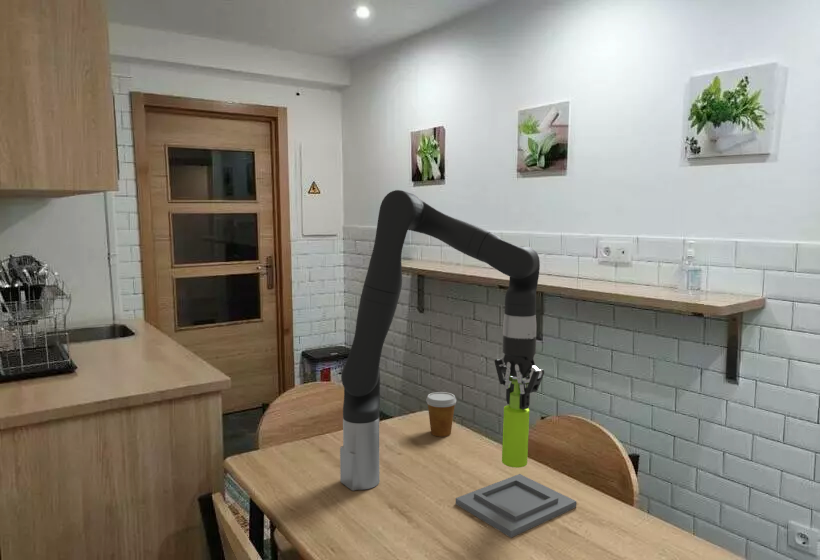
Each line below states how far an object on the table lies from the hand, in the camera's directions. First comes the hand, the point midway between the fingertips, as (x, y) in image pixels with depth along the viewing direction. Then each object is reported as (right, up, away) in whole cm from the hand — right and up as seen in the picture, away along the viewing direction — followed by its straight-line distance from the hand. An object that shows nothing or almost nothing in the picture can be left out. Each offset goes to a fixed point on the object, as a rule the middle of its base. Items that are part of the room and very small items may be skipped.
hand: (517, 406), depth 136 cm
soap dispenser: (0, -14, +2) cm, 14 cm away
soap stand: (0, -24, +3) cm, 24 cm away
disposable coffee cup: (-15, -19, +48) cm, 54 cm away
